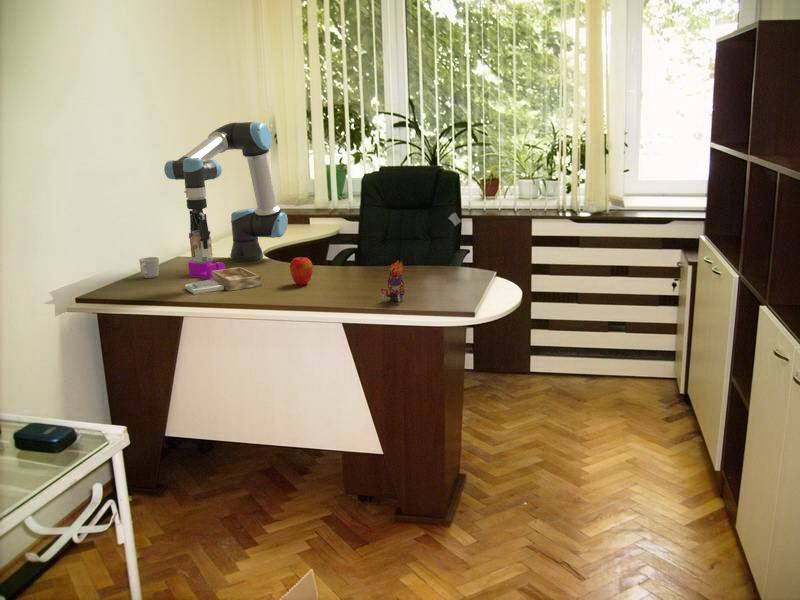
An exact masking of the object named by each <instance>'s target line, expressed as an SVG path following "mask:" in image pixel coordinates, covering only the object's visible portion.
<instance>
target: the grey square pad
mask: <svg viewBox="0 0 800 600" xmlns="http://www.w3.org/2000/svg"><path fill="white" fill-rule="evenodd" d="M190 284H191V285H192V286H194V287H195V288H197V289H199V288H206V287H212V286H217V283H215V282H214V281H212V280H211V279H206V280H200V281H193V282H192V281H191V282H190Z"/></svg>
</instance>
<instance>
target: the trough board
mask: <svg viewBox="0 0 800 600" xmlns="http://www.w3.org/2000/svg"><path fill="white" fill-rule="evenodd" d="M211 272H212V278H211V279H210V280H212V281H217V282H218V283H220V284H221V285H223V286H224V290H227V291H229V292H230V291H236V290H237V291H238V290H242V289H248V288H256V287H263V283H262V280H261V276H260V275H258V274H257V273H254V272H252V271H250V270H248V269H247V268H244V267H243V266H238V267H231V268H225V269H223V270H216V271H211Z"/></svg>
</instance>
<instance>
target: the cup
mask: <svg viewBox="0 0 800 600" xmlns="http://www.w3.org/2000/svg"><path fill="white" fill-rule="evenodd" d="M159 261H160V259H159V257H157V256H149V257H148V256H146V257H143V258H139V265H140V273H141V274H142V277H143V278H145V279H153V278H158V277H159V273H160V272H159V271H160V262H159Z"/></svg>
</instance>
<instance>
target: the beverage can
mask: <svg viewBox="0 0 800 600" xmlns="http://www.w3.org/2000/svg"><path fill="white" fill-rule="evenodd" d="M208 231H209V237H210V239H208V247H209V257H202V251H201V241H200V239H201V236H200V232H199V230H198V231H193V232H191V233H190V232H189V233H188V239H189V243H190V244H189V245H190V252H191V253H190V254H191V260H192V261H193V262H194V263H208V262H211V261H212V262H213V260H214V256H213V246H212V237H211V236H210V235H211V231H210V230H208Z"/></svg>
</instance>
